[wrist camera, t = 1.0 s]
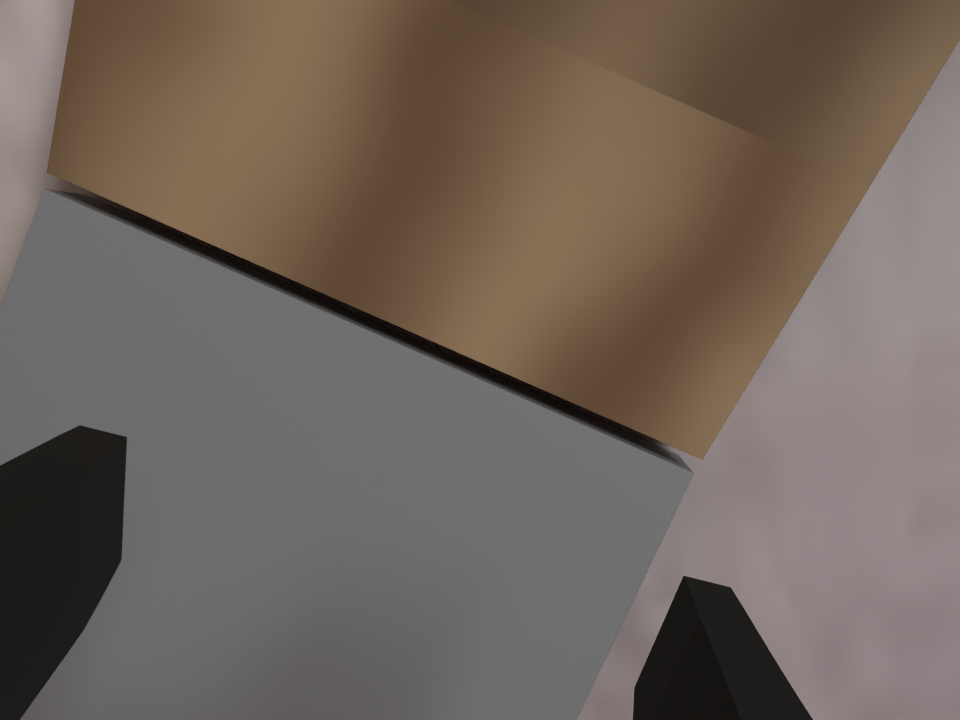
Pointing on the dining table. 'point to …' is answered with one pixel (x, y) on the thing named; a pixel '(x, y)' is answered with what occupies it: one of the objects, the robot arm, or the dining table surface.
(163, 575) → the loose plank
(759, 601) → the dining table surface
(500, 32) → the laid boards
